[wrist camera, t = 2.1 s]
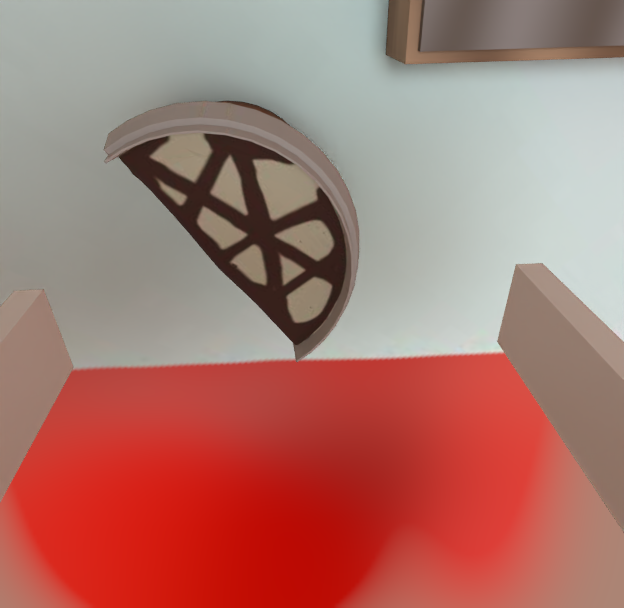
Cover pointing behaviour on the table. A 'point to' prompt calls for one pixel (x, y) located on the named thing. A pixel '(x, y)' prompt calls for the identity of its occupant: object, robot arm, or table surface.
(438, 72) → the table surface
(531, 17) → the walnut stand
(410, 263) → the table surface
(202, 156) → the food container
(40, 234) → the table surface
